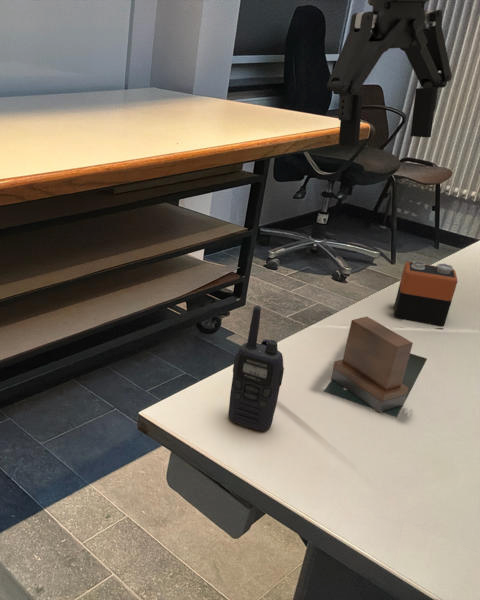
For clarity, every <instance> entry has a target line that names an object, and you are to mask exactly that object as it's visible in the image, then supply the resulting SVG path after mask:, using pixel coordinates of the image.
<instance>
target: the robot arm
mask: <svg viewBox="0 0 480 600" xmlns="http://www.w3.org/2000/svg"><path fill="white" fill-rule="evenodd" d="M429 1H430V0H367V3H368V5H369V6H371V7H372V10H371V11H360V12H354V13H353V14H352V15H351V17H350V24H349V31H348V34H347V36H346V39H345V41H344V43H343V45H342V48H341V51H340V53H339V55H338V58H337V60H336V62H335V64H334V67H333V69H332V71H331V72H332V73H331V74H330V77H329V78H328V82H327V84H326V88H327V90H329V91H332V93H333V95H339V97H338V98H339V99H338V100H339V101H338V113H337V118H338V120H339V121H340V123H339V135H338V146H341V147H351V148H352V147H353V148H357V147H359V145H360V133H361V132H360V131H361V122H362V121H361V120H362V108H363V98H364V97H363V96H364V94H358V93H359V91H360V89H361V88H362V87H363V85H364V84H365V82H366V80H367V79H368V77H369V76H370V74H371V73H372V71H373V69H374V68H375V66H376V65H377V63H378V62H379V61H380V59H381V57H382V56H383V54H384V53H386V52H388V51H389V50H390V49H400V50H401V51H403V52H404V54H405V55H406V57H407V60H408V61H409V64H410V66H411V68H412V70H413V72H414V74H415V77H416V79H417V80H418V83H419V85H420V86H421V87H416V88H415V92H414V102H413V110H412V119H411V120H412V121H411V128H410V137H416V138H431V137H432V130H433V121H434V113H435V112H436V108H437V101H438V93H439V92H438V91H439V89H440V88H441V89H443V88H445V87H446V86H447V85H448V83H449V82H451V80H452V77H453V74H452V71H451V65H450V60H449V55H448V51H447V45H446V41H445V37H444V31H443V10H441V9H434V10H433V9H432V10H426V11H425V4H426V3H427V2H429Z"/></svg>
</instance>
